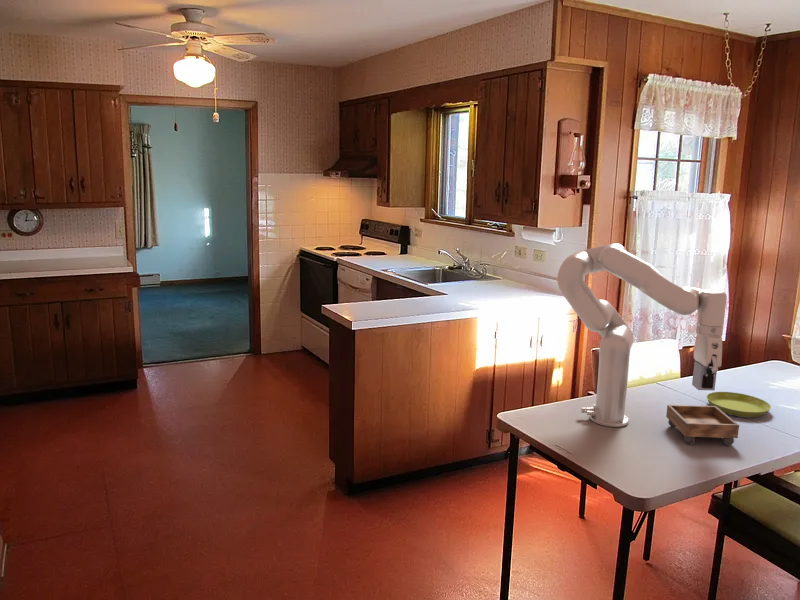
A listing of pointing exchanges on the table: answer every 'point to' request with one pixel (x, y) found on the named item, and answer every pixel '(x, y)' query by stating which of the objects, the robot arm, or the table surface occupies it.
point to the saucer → (738, 404)
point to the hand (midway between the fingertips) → (703, 384)
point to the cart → (702, 422)
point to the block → (700, 376)
